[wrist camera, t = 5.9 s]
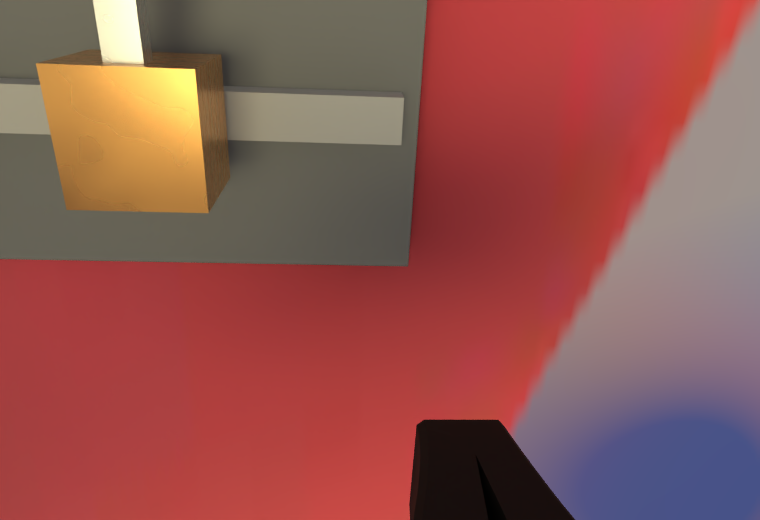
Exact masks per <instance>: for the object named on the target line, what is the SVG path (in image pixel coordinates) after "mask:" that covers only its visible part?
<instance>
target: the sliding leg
mask: <svg viewBox="0 0 760 520" xmlns="http://www.w3.org/2000/svg"><path fill="white" fill-rule="evenodd" d="M93 5H94V11H95V17H96V24H97V30H98V36H99V42H100V48H101V50H96V49H88V50H85V51H81V52H77V53H73V54H69V55H66V56H62V57H58V58H54V59H50V60H47V61H43V62H39V63H36V67H37V71H38V76H39V81H40V86H41V90H42V95H43V100H44V105H45V110H46V114H47V119H48V124H49V129H50V133H51V138H52V143H53V148H54V152H55V157H56V162H57V167H58V172H59V176H60V181H61V186H62V191H63V195H64V200H65V205H66V210H90V211H134V212H178V213H209V212H210V210H211V208H212V207H213V205H214V204H215V202H216V200H217V199H218V197H219V195H220V194H221V192H222V191H223V189H224V187H225V186H226V184H227V182H228V181H229V179H230V166H229V152H228V139H227V125H226V112H225V99H224V85H223V72H222V58H221V54H199V53H173V52H152V47H151V39H150V31H149V23H148V14H147V6H146V0H93Z"/></svg>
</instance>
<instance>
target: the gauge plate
mask: <svg viewBox="0 0 760 520" xmlns="http://www.w3.org/2000/svg"><path fill="white" fill-rule="evenodd" d="M146 6H147V14H148V23H149V31H150V39H151V47H152V52H173V53H199V54H221V58H222V72H223V85H224V99H225V112H226V125H227V139H228V152H229V166H230V179H229V181H228V182H227V184H226V186H225V187H224V189H223V191H222V192H221V194H220V195H219V197H218V199H217V200H216V202H215V204H214V205H213V207H212V208H211V210H210V212H209V213H178V212H134V211H90V210H66V205H65V200H64V195H63V191H62V186H61V181H60V176H59V172H58V167H57V162H56V157H55V152H54V148H53V143H52V138H51V133H50V129H49V124H48V119H47V114H46V110H45V105H44V100H43V95H42V90H41V86H40V81H39V76H38V71H37V67H36V63H39V62H43V61H47V60H50V59H54V58H58V57H62V56H66V55H69V54H73V53H77V52H81V51H85V50H88V49H96V50H101V48H100V42H99V36H98V30H97V24H96V17H95V11H94V5H93V0H0V259H31V260H86V261H142V262H197V263H253V264H308V265H364V266H408V261H409V247H410V233H411V219H412V205H413V191H414V177H415V163H416V149H417V135H418V121H419V107H420V93H421V79H422V65H423V51H424V37H425V23H426V9H427V0H146Z"/></svg>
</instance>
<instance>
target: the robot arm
mask: <svg viewBox="0 0 760 520" xmlns="http://www.w3.org/2000/svg"><path fill="white" fill-rule="evenodd" d="M409 505H410V520H575V519H574V518H573V517H572V515H571V514H570V513H569V512H568V511H567V509H566V508H565V507H564V506H563V505H562V503H561V502H560V501H559V499H558V498H557V497H556V496H555V494H554V493H553V492H552V491H551V489H550V488H549V487H548V485H547V484H546V483H545V481H544V480H543V479H542V477H541V476H540V475H539V473H538V472H537V471H536V470H535V468H534V467H533V466H532V464H531V463H530V461H529V460H528V459H527V457H526V456H525V455H524V453H523V452H522V451H521V449H520V448H519V447H518V445H517V444H516V442H515V441H514V439H513V438H512V437H511V435H510V434H509V433H508V431H507V430H506V428H505V427H504V426H503V425H502V423H501V422H500V421H499V420H423V421H422V422H420V423H419V424H418V425H417V427H416V438H415V449H414V460H413V471H412V482H411V493H410V504H409Z"/></svg>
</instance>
